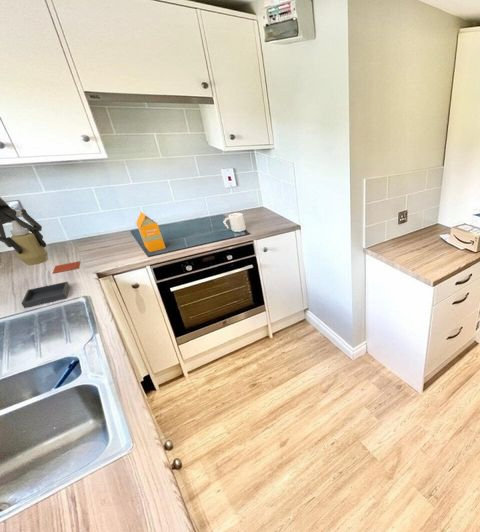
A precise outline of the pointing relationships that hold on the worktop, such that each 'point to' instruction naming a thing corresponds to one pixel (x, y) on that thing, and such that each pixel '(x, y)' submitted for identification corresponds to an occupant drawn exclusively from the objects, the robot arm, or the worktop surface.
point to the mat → (66, 267)
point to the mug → (236, 222)
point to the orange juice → (150, 233)
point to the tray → (46, 294)
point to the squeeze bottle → (28, 245)
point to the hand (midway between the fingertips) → (32, 248)
